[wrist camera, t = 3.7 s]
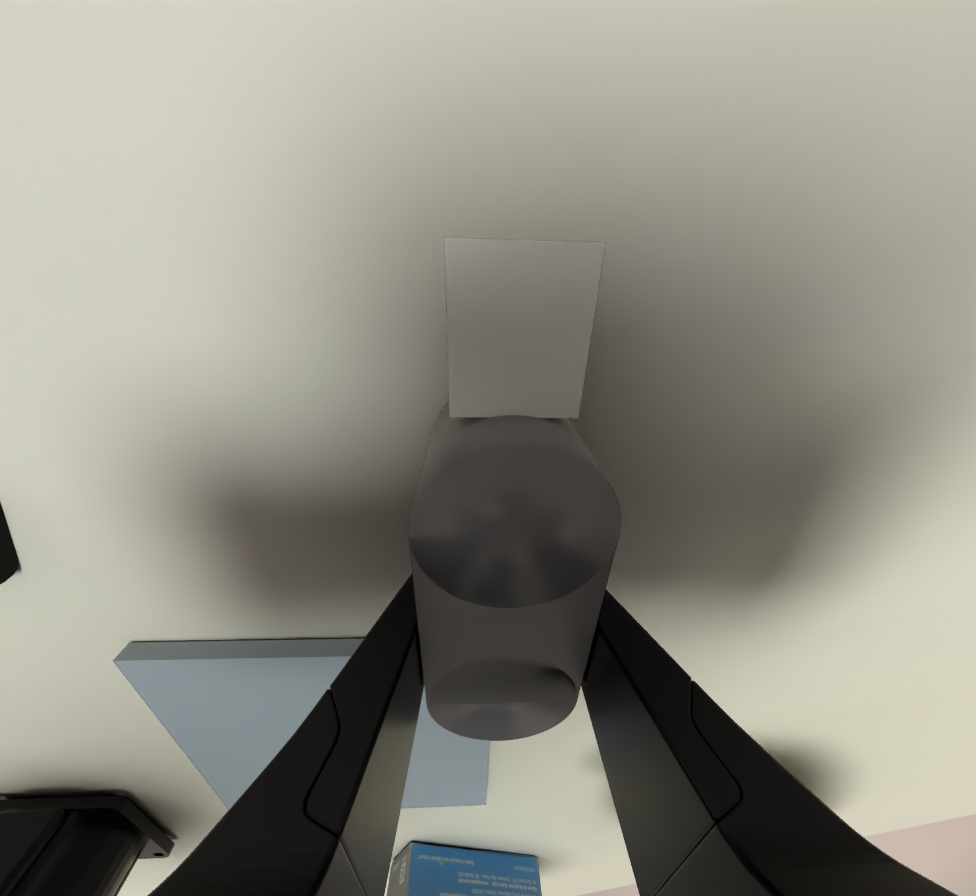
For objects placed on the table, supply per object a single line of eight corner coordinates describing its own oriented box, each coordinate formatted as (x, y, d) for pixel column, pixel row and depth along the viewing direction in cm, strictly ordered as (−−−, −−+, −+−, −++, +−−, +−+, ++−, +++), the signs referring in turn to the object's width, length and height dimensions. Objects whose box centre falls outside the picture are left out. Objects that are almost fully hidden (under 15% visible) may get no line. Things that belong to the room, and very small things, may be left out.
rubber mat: (485, 788, 17) (485, 804, 17) (239, 797, 17) (232, 814, 16) (492, 636, 12) (494, 653, 11) (129, 642, 11) (112, 660, 11)
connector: (545, 624, 12) (567, 738, 9) (441, 626, 12) (430, 742, 9) (601, 250, 7) (694, 236, 4) (418, 245, 7) (375, 227, 4)
